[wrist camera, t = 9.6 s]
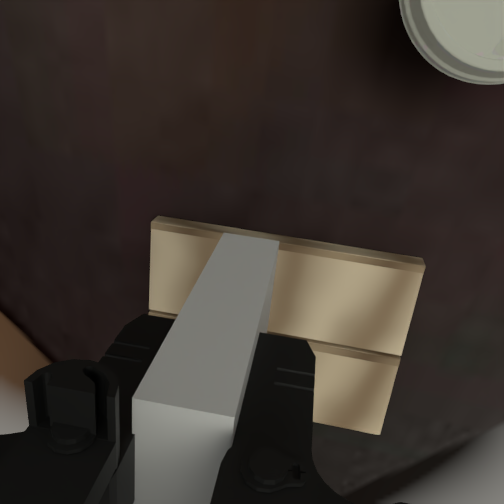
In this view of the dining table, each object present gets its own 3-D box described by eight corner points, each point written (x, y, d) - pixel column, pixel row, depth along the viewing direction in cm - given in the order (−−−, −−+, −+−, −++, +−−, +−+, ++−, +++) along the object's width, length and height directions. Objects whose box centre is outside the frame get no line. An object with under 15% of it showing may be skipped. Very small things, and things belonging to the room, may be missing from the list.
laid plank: (152, 377, 43) (146, 388, 42) (155, 303, 40) (148, 312, 39) (378, 422, 41) (379, 435, 40) (398, 348, 38) (400, 359, 37)
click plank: (155, 300, 40) (148, 309, 39) (158, 215, 37) (151, 221, 36) (398, 344, 38) (401, 356, 37) (422, 257, 35) (425, 266, 34)
